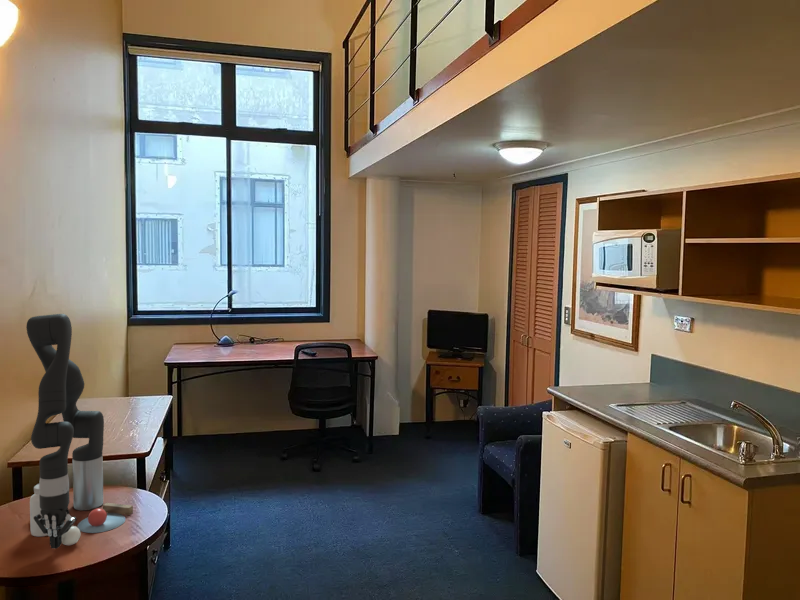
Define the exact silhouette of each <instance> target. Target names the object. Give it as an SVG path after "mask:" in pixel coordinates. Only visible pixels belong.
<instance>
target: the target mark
mask: <svg viewBox="0 0 800 600" xmlns="http://www.w3.org/2000/svg"><path fill="white" fill-rule="evenodd" d="M125 516H126V515H123V514H118V513H107V519H106V521H105V522H104V523H103V524H102V525H100V526H92V525H90V524H89V522H88V517H86V518H84V519H82V520H81V521H79V522H78V523H77V528H79V530H80V532H82V533H86V534H87V533H89V534H96V533H97V534H98V533H104V532H108V531H111V530H114V529H117V528H119V527H121V526H122V525H123V524H124V523H125V522H126V517H125Z"/></svg>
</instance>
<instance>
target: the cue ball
mask: <svg viewBox="0 0 800 600" xmlns="http://www.w3.org/2000/svg"><path fill="white" fill-rule="evenodd" d="M81 534H82V533H81V531H80V530H79V528H78V526H76V525H72V527H71V528H70V529H69V530H68V532H66V533H64V534H63V535H62V544H63V545H64V546H72V545H75V544H76V543H78V541H79V540H80V539H81Z"/></svg>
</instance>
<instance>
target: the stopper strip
mask: <svg viewBox="0 0 800 600" xmlns="http://www.w3.org/2000/svg"><path fill="white" fill-rule="evenodd" d="M102 509H103V510H105V511H106V513H118V514H122V515H123V514H124V516H130V515H132V514H133V513H134V506H133V505H131V504H121V503H114V502H113V503H112V502H105V503H103V504H102ZM131 513H132V514H131Z"/></svg>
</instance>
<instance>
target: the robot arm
mask: <svg viewBox="0 0 800 600" xmlns="http://www.w3.org/2000/svg"><path fill="white" fill-rule="evenodd" d="M70 319H71V318H70V317H69V316H68V315H67V314H65V313H57V314H56V313H55V314H44V315H35V316H32V317H30V318H29V319H28V320H27V322H26V326H25V327H26V334H27V337H28V339H29V342H30V344H31V346H32V348H33V349H34V351H35V353H36V355H37V357H38V358H39V360H40V362H41V364H42V366H43V370H44V374H43V376H42V377H41V380H40V382H39V385H38V390H37V391H38V392H37V393H38V406H37V407H38V409H37V410H38V411H37V416H36V420H35V423H34V425H33V429H32V432H31V434H30V435H31V436H30V441H31V445H32V446H33V448H35V449H38V450H39V449H40V450H41V449H42V450H43V449H49V448H58V447H59V448H58V449H57V450H56V451H54V452H51V453H48V454H45V455H43V456H42V457H40V459H39V483H38V484H39V500H40V508H41V511H40V514H38V515H36V516H34V520H35V522H36V523H37V525H38V526H39V528H40V529H41V530H42V532H43V533H44V534H46V533H47V534H48V535H47V536H48V538H49V546H50V548H51V549H54V550H56V549H58V548H60V547H61V545H62V544H63V543H62V535H63V534H64V533H66V532H68V530H69V529H70V528H71V527H72V526H74V524H75V523H76V521H77V519H78V518H77V517H76V516H71V515H70V509H69V504H70V478H69V473H68V472H69V471H68V470H69V469H68V466H69V465H68V461H69V459H68V458H69V452H70V448H71V444H72V441H73V438H74V439H88V443H87V444H84V445H83V444H82V445H81V446H78V447H76V448H74V449H73V450H72V453H71V454H72V455H71V457H72V495H73V496H72V497H73V498H72V499H73V501H72V502H73V503H72V504H73V509H74V510H77V511H89V510H90V511H91V510H94V509H97V508H100V506H103V505H104V469H103V467H104V465H103V464H104V462H103V451H104V450H103V448H104V430H105V429H104V427H105V421H104V420H105V419H104V415H103V412H101V411H99V410H80V409H78V406H77V402H78V401H79V399H80V397H81V396H82V395H83V392H84V388H85V380H84V377H83V375H82V372H81V369H80V367H79V366H78V364H76V363H75V362H74V361H72V360H71V359H70V353H71V344H72V333H73V330H72V327H73V326H72V322H71V320H70ZM54 346H56V349H55V348H54ZM58 415H61V416H62V420H63V421H57V422H47V420H48V419H49V418H51V417H53V416H58ZM44 525H45V526H46V528H45V526H44Z"/></svg>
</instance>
